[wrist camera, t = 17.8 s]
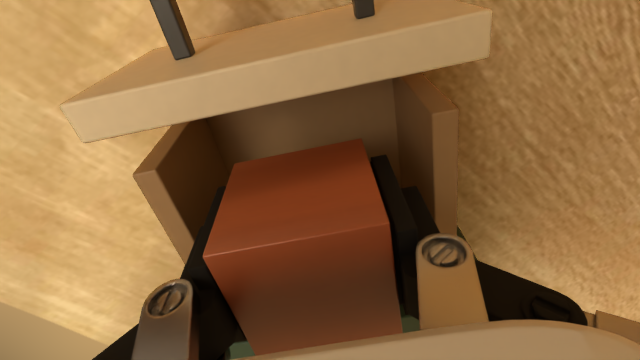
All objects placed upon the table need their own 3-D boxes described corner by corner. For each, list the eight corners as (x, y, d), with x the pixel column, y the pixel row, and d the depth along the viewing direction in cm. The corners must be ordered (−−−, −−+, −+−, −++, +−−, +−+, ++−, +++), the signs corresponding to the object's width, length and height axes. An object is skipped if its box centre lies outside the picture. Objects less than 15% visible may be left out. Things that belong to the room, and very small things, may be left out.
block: (233, 162, 12) (200, 256, 8) (361, 137, 11) (390, 222, 8) (269, 254, 14) (257, 359, 10) (376, 235, 14) (403, 337, 10)
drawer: (57, -161, 11) (-198, -287, 6) (405, -259, 10) (531, -529, 5) (248, 265, 22) (229, 372, 16) (426, 233, 21) (472, 334, 15)
